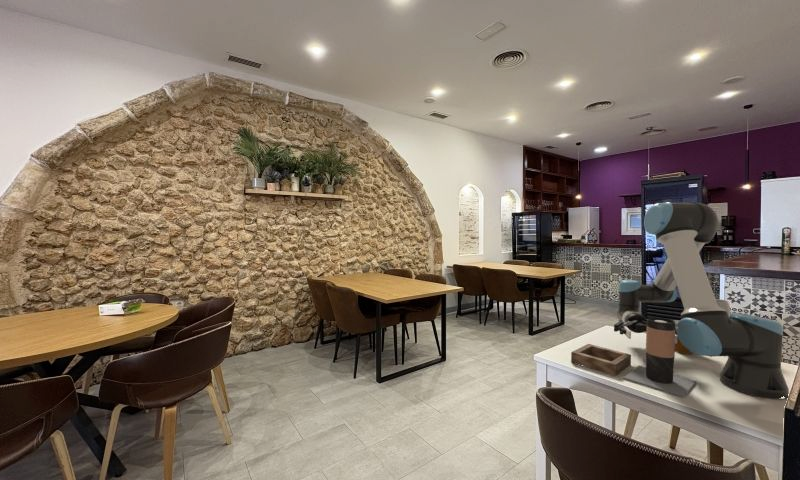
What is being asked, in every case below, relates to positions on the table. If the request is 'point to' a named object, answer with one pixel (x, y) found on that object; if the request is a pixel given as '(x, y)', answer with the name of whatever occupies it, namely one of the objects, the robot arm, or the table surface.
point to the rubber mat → (677, 387)
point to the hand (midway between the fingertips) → (652, 337)
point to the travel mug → (660, 349)
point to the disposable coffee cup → (679, 345)
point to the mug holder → (601, 359)
